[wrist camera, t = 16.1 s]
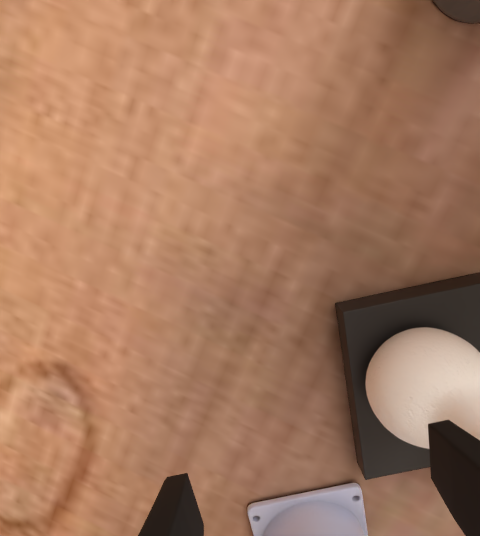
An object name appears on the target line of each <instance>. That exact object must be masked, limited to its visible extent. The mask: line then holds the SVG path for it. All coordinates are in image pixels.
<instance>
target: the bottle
mask: <svg viewBox="0 0 480 536" xmlns="http://www.w3.org/2000/svg"><path fill="white" fill-rule="evenodd" d="M433 1H434V3H435V4H436V5H437V6H438V7H439V9H440V10H441V11H442V12H444V13H445V14H446V15H448V16H449V17H451V18H453V19H455V20H458V21H461V22H467V23H480V0H433Z"/></svg>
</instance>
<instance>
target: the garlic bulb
mask: <svg viewBox="0 0 480 536" xmlns="http://www.w3.org/2000/svg"><path fill="white" fill-rule="evenodd" d="M365 383H366V384H365V385H366V393H367V397H368V401H369V403H370V406H371V408H372V410H373V412H374V414H375V415H376V417H377V418H378V419H379V421H380V422H381V423H382V424H383V426H384V427H385V428H387V430H389V431H390V432H391V433H392V434H394V435H395V436H396V437H398V438H399V439H401V440H403V441H405V442H407V443H410V444H412V445H415V446H418V447H422V448H428V449H429V435H428V424H430V423H435V422H439V421H444V420H450V421H451V422H453V423H454V424H456V425H457V426H459V427H460V428H462V429H463V430H465V431H466V432H468V433H469V434H471V435H472V436H474V437H475V438H477V439H478V440H480V352H479V351H478V350H477V349H476V348H474V347H473V346H472V345H471V344H470V343H468V342H467V341H465V340H464V339H462V338H460V337H458V336H457V335H454V334H452V333H450V332H447V331H444V330H440V329H436V328H428V327H421V328H412V329H408V330H405V331H403V332H400V333H398V334H395V335H394V336H392V337H391V338H389V339H388V340H386V341H385V342H384V343H383V344H382V345H381V346H380V347H379V348H378V350H377V351H376V353H375V354H374V356H373V357H372V359H371V361H370V363H369V366H368V369H367V372H366V382H365Z"/></svg>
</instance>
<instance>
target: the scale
mask: <svg viewBox="0 0 480 536" xmlns="http://www.w3.org/2000/svg"><path fill="white" fill-rule="evenodd" d="M335 305H336V313H337V320H338V327H339V334H340V341H341V348H342V356H343V363H344V370H345V377H346V384H347V391H348V399H349V406H350V413H351V420H352V427H353V434H354V441H355V449H356V456H357V463H358V465H359V467H360V469H361V471H362V473H363V476H364V478H365V480H367V479H372V478H377V477H382V476H387V475H392V474H397V473H402V472H407V471H412V470H417V469H422V468H426V467H431V466H430V451H429V449H428V448H422V447H418V446H415V445H412V444H410V443H407V442H405V441H403V440H401V439H399V438H398V437H396V436H395V435H394V434H392V433H391V432H390V431H389V430H387V428H385V427H384V426H383V424H382V423H381V422H380V421H379V419H378V418H377V417H376V415H375V414H374V412H373V410H372V408H371V406H370V403H369V401H368V397H367V393H366V385H365V384H366V383H365V382H366V372H367V369H368V366H369V363H370V361H371V359H372V357H373V356H374V354H375V353H376V351H377V350H378V348H379V347H380V346H381V345H382V344H383V343H384V342H385V341H386V340H388V339H389V338H391V337H392V336H394V335H395V334H398V333H400V332H403V331H405V330H408V329H412V328H421V327H428V328H436V329H440V330H444V331H447V332H450V333H452V334H454V335H457V336H458V337H460V338H462V339H464V340H465V341H467V342H468V343H470V344H471V345H472V346H473V347H474V348H476V349H477V350H478V351H479V352H480V273H476V274H471V275H466V276H462V277H457V278H452V279H448V280H443V281H438V282H433V283H429V284H424V285H419V286H414V287H410V288H405V289H400V290H395V291H391V292H386V293H381V294H376V295H372V296H367V297H362V298H357V299H353V300H348V301H343V302H339V303H335Z"/></svg>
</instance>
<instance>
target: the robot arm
mask: <svg viewBox="0 0 480 536" xmlns="http://www.w3.org/2000/svg"><path fill="white" fill-rule="evenodd" d="M428 435H429V451H430V466H431V479H432V480H433V482H434V484H435V486H436V488H437V489H438V491H439V493H440V495H441V497H442V499H443V500H444V502H445V504H446V506H447V507H448V509H449V511H450V513H451V514H452V516H453V518H454V519H455V521H456V522H457V524H458V525H459V527H460V528H461V530H462V531H463V532H464V534H465V535H466V536H480V440H478V439H477V438H475V437H474V436H472V435H471V434H469V433H468V432H466V431H465V430H463V429H462V428H460V427H459V426H457V425H456V424H454V423H453V422H451V421H450V420H444V421H439V422H435V423H430V424H428ZM247 511H248V517H249V521H250V524H251V528H252V532H253V535H254V536H368V532H367V524H366V517H365V510H364V503H363V496H362V490H361V488H360V485H359V484H357V483H349V484H344V485H339V486H334V487H329V488H324V489H319V490H314V491H309V492H304V493H299V494H295V495H290V496H285V497H280V498H275V499H270V500H265V501H260V502H255V503H251V504H250V505H249V506H248V508H247ZM138 536H204V524H203V521H202V518H201V514H200V511H199V508H198V505H197V502H196V499H195V496H194V493H193V489H192V486H191V483H190V480H189V477H188V474H187V473H185V474H180V475H175V476H170V477H167V478H166V480H165V481H164V483H163V485H162V487H161V490H160V492H159V494H158V496H157V498H156V500H155V502H154V505H153V507H152V509H151V511H150V513H149V515H148V517H147V519H146V521H145V523H144V525H143V527H142V529H141V531H140V533H139V535H138Z"/></svg>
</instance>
